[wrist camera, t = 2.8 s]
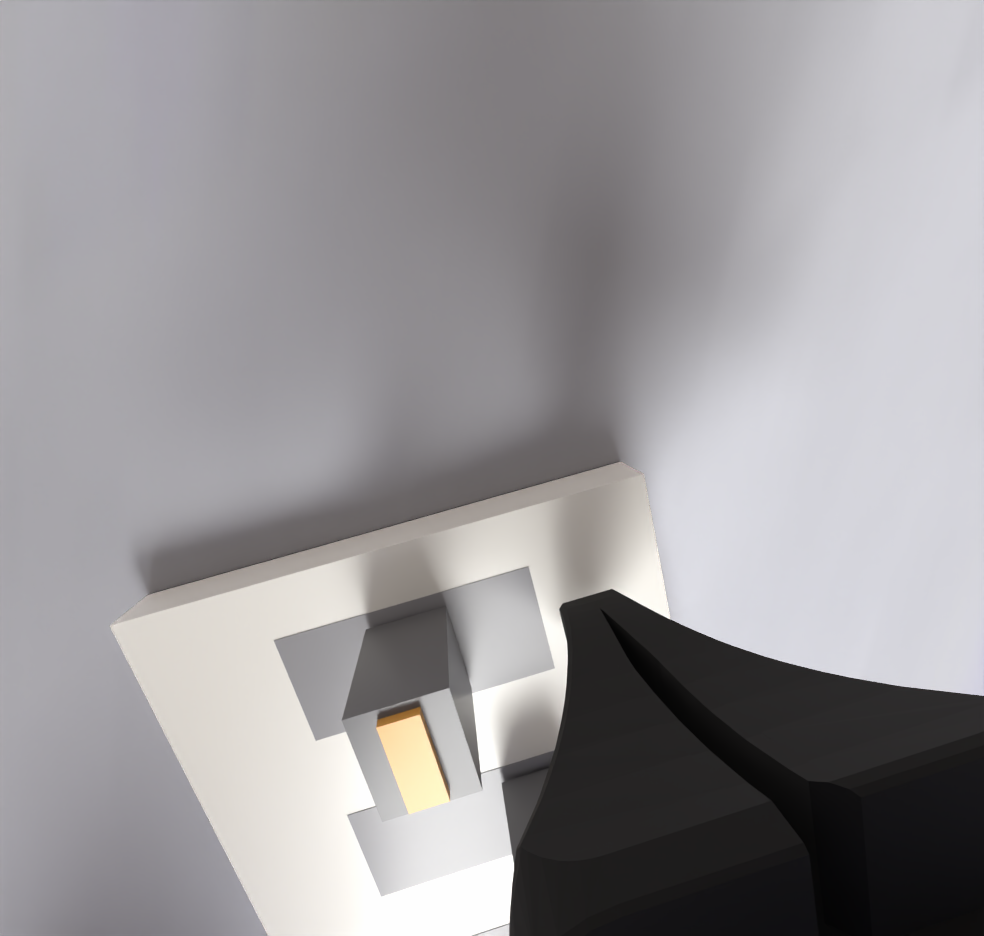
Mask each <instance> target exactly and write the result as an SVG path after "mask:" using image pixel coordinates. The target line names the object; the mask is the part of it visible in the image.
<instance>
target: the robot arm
mask: <svg viewBox="0 0 984 936" xmlns="http://www.w3.org/2000/svg"><path fill="white" fill-rule="evenodd" d="M559 611H560V616H561V620H562V624H563V628H564V632H565V636H566V640H567V650H568V665H567V684H566V693H565V701H564V708H563V714H562V720H561V724H560V729H559V733H558V738H557V742H556V746H555V750H554V754H553V757H552V760H551V763H550V766H549V769H548V772H547V775H546V778H545V781H544V784H543V787H542V790H541V793H540V796H539V798H538V801H537V804H536V806H535V808H534V810H533V813H532V815H531V817H530V819H529V822H528V824H527V826H526V828H525V831H524V833H523V835H522V837H521V840H520V842H519V844H518V846H517V848H516V856H515V864H514V873H513V882H512V893H511V905H510V923H509V936H984V696H979V695H970V694H961V693H953V692H944V691H935V690H927V689H918V688H909V687H901V686H895V685H889V684H883V683H877V682H871V681H866V680H860V679H854V678H849V677H844V676H839V675H835V674H830V673H825V672H821V671H817V670H813V669H809V668H805V667H801V666H797V665H793V664H789V663H785V662H781V661H778V660H774V659H771V658H767V657H764V656H761V655H758V654H755V653H752V652H749V651H746V650H743V649H740V648H737V647H734V646H731V645H729V644H726V643H723V642H721V641H718V640H716V639H713V638H711V637H708V636H706V635H704V634H701V633H699V632H697V631H694V630H692V629H690V628H687V627H685V626H683V625H681V624H679V623H677V622H675V621H672V620H670V619H668V618H666V617H664V616H662V615H660V614H658V613H656V612H655V611H653V610H651V609H649V608H647V607H645V606H643V605H641V604H639V603H638V602H636V601H634V600H632V599H630V598H628V597H627V596H625V595H623V594H621V593H619V592H617V591H615V590H613V589H610V590H606V591H603V592H600V593H596V594H593V595H589V596H586V597H583V598H579V599H576V600H572V601H569V602H566V603H562V605H561V607H560V608H559Z"/></svg>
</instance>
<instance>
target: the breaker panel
mask: <svg viewBox="0 0 984 936" xmlns="http://www.w3.org/2000/svg"><path fill="white" fill-rule="evenodd" d="M610 589H613V590H615V591H617V592H619V593H621V594H623V595H625V596H627V597H628V598H630V599H632V600H634V601H636V602H638V603H639V604H641V605H643V606H645V607H647V608H649V609H651V610H653V611H655V612H656V613H658V614H660V615H662V616H664V617H666V618H668V619H670V620H671V618H670V613H669V607H668V602H667V597H666V591H665V586H664V580H663V575H662V569H661V564H660V559H659V553H658V548H657V542H656V537H655V532H654V526H653V521H652V515H651V510H650V504H649V499H648V494H647V488H646V483H645V477H644V474H643V473H641V472H639V471H637V470H636V469H634V468H632V467H630V466H628V465H626V464H625V463H623V462H617V463H614V464H610V465H607V466H603V467H600V468H596V469H592V470H589V471H585V472H582V473H578V474H575V475H571V476H568V477H564V478H561V479H557V480H553V481H550V482H546V483H543V484H539V485H536V486H532V487H529V488H525V489H521V490H518V491H514V492H511V493H507V494H504V495H500V496H497V497H493V498H490V499H486V500H482V501H479V502H475V503H472V504H468V505H465V506H461V507H458V508H454V509H451V510H447V511H443V512H440V513H436V514H433V515H429V516H426V517H422V518H419V519H415V520H412V521H408V522H404V523H401V524H397V525H394V526H390V527H387V528H383V529H380V530H376V531H372V532H369V533H365V534H362V535H358V536H355V537H351V538H348V539H344V540H341V541H337V542H333V543H330V544H326V545H323V546H319V547H316V548H312V549H309V550H305V551H302V552H298V553H294V554H291V555H287V556H284V557H280V558H277V559H273V560H270V561H266V562H263V563H259V564H255V565H252V566H248V567H245V568H241V569H238V570H234V571H231V572H227V573H223V574H220V575H216V576H213V577H209V578H206V579H202V580H199V581H195V582H192V583H188V584H184V585H181V586H177V587H174V588H170V589H167V590H163V591H160V592H156V593H153V594H149V595H147V596H146V597H144V598H143V599H142V600H141V601H139V602H138V603H137V604H136V605H135V606H133V607H132V608H131V609H130V610H128V611H127V612H126V613H125V614H123V615H122V616H121V617H120V618H118V619H117V620H116V621H115V622H113V623H112V624H111V625H110V628H111V630H112V632H113V634H114V636H115V638H116V640H117V642H118V644H119V646H120V648H121V650H122V652H123V654H124V656H125V658H126V659H127V661H128V663H129V665H130V667H131V669H132V671H133V673H134V675H135V677H136V679H137V681H138V683H139V685H140V687H141V689H142V691H143V693H144V695H145V697H146V699H147V701H148V702H149V704H150V706H151V708H152V710H153V712H154V714H155V716H156V718H157V720H158V722H159V724H160V726H161V728H162V730H163V732H164V734H165V736H166V738H167V740H168V742H169V744H170V745H171V747H172V749H173V751H174V753H175V755H176V757H177V759H178V761H179V763H180V765H181V767H182V769H183V771H184V773H185V775H186V777H187V779H188V781H189V783H190V785H191V787H192V788H193V790H194V792H195V794H196V796H197V798H198V800H199V802H200V804H201V806H202V808H203V810H204V812H205V814H206V816H207V818H208V820H209V822H210V824H211V826H212V828H213V830H214V831H215V833H216V835H217V837H218V839H219V841H220V843H221V845H222V847H223V849H224V851H225V853H226V855H227V857H228V859H229V861H230V863H231V865H232V867H233V869H234V871H235V873H236V874H237V876H238V878H239V880H240V882H241V884H242V886H243V888H244V890H245V892H246V894H247V896H248V898H249V900H250V902H251V904H252V906H253V908H254V910H255V912H256V914H257V915H258V917H259V919H260V921H261V923H262V925H263V927H264V929H265V931H266V933H267V935H268V936H509V923H510V905H511V893H512V882H513V873H514V864H515V856H516V848H517V846H518V844H519V842H520V840H521V837H522V835H523V833H524V831H525V828H526V826H527V824H528V822H529V819H530V817H531V815H532V813H533V810H534V808H535V806H536V804H537V801H538V798H539V796H540V793H541V790H542V787H543V784H544V781H545V778H546V775H547V772H548V769H549V766H550V763H551V760H552V757H553V754H554V750H555V746H556V742H557V738H558V733H559V729H560V724H561V720H562V714H563V708H564V701H565V693H566V684H567V665H568V650H567V640H566V636H565V632H564V628H563V624H562V620H561V616H560V611H559V608H560V607H561V605H562V603H566V602H569V601H572V600H576V599H579V598H583V597H586V596H589V595H593V594H596V593H600V592H603V591H606V590H610ZM444 606H446V607H447V610H448V614H449V617H450V620H451V623H452V626H453V630H454V633H455V636H456V639H457V642H458V646H459V649H460V652H461V655H462V658H463V662H464V665H465V668H466V671H467V674H468V678H469V681H470V684H471V687H472V696H473V705H474V714H475V724H476V733H477V742H478V752H479V761H480V771H481V780H482V789H483V791H480V792H477V793H473V794H470V795H467V796H464V797H461V798H458V799H454V800H451V801H450V802H446V803H443V804H440V805H437V806H434V807H430V808H427V809H424V810H421V811H418V812H415V813H411V814H407V815H404V816H400V817H397V818H394V819H391V820H388V821H384V822H382V821H381V818H380V816H379V813H378V811H377V808H376V806H375V803H374V801H373V798H372V795H371V793H370V790H369V788H368V785H367V783H366V780H365V778H364V775H363V773H362V770H361V768H360V765H359V763H358V760H357V758H356V755H355V753H354V750H353V748H352V745H351V743H350V740H349V738H348V735H347V733H346V730H345V728H344V725H343V723H342V717H343V713H344V710H345V706H346V702H347V698H348V695H349V691H350V687H351V683H352V679H353V676H354V672H355V668H356V664H357V661H358V657H359V653H360V649H361V646H362V642H363V638H364V634H365V631H366V629H369V628H373V627H376V626H379V625H383V624H386V623H390V622H393V621H396V620H400V619H403V618H407V617H410V616H414V615H417V614H420V613H424V612H427V611H431V610H434V609H437V608H441V607H444Z"/></svg>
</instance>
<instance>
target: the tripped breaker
mask: <svg viewBox="0 0 984 936" xmlns="http://www.w3.org/2000/svg"><path fill="white" fill-rule="evenodd" d="M342 723H343V725H344V728H345V730H346V733H347V735H348V738H349V740H350V743H351V745H352V748H353V750H354V753H355V755H356V758H357V760H358V763H359V765H360V768H361V770H362V773H363V775H364V778H365V780H366V783H367V785H368V788H369V790H370V793H371V795H372V798H373V801H374V803H375V806H376V808H377V811H378V813H379V816H380V818H381V821H382V822H384V821H388V820H391V819H394V818H397V817H400V816H404V815H407V814H411V813H415V812H418V811H421V810H424V809H427V808H430V807H434V806H437V805H440V804H443V803H446V802H450V801H451V800H454V799H458V798H461V797H464V796H467V795H470V794H473V793H477V792H480V791H483V789H482V780H481V771H480V761H479V752H478V742H477V733H476V724H475V714H474V705H473V696H472V687H471V684H470V681H469V678H468V674H467V671H466V668H465V665H464V662H463V658H462V655H461V652H460V649H459V646H458V642H457V639H456V636H455V633H454V630H453V626H452V623H451V620H450V617H449V614H448V610H447V607H446V606H444V607H441V608H437V609H434V610H431V611H427V612H424V613H420V614H417V615H414V616H410V617H407V618H403V619H400V620H396V621H393V622H390V623H386V624H383V625H379V626H376V627H373V628H369V629H366V631H365V634H364V638H363V642H362V646H361V649H360V653H359V657H358V661H357V664H356V668H355V672H354V676H353V679H352V683H351V687H350V691H349V695H348V698H347V702H346V706H345V710H344V713H343V717H342Z"/></svg>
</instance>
